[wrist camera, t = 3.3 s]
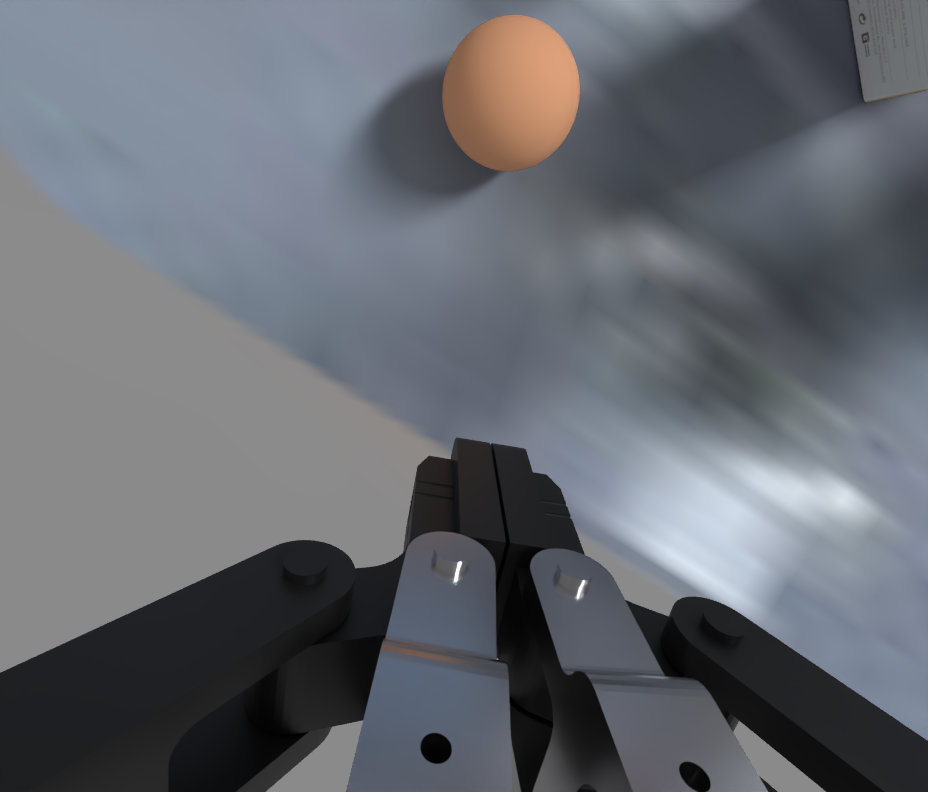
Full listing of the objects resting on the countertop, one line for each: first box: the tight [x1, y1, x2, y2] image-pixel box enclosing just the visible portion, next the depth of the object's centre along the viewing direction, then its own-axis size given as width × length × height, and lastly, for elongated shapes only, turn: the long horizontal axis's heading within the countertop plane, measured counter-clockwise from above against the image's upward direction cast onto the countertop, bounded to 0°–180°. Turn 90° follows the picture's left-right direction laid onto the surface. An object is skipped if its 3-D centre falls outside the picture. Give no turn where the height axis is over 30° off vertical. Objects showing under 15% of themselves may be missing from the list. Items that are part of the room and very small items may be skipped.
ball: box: [442, 15, 580, 171], centre depth 22 cm, size 6×6×6 cm
